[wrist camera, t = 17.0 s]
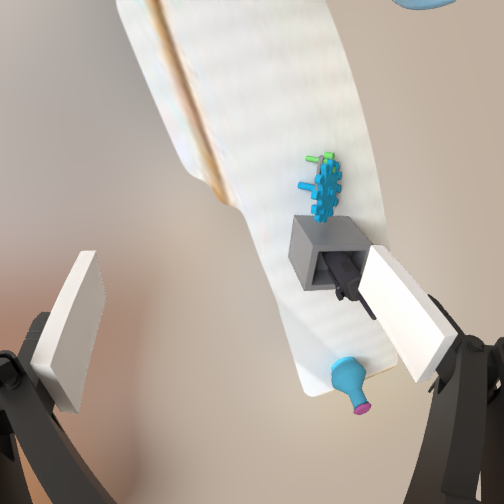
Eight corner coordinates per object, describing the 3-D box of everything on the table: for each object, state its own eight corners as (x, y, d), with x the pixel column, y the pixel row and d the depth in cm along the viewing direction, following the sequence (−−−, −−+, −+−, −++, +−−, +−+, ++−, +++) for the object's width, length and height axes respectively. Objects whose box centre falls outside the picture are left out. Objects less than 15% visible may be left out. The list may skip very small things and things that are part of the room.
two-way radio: (345, 260, 52) (386, 321, 39) (322, 273, 53) (357, 337, 40) (335, 235, 49) (379, 295, 36) (310, 249, 50) (347, 312, 37)
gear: (339, 218, 53) (315, 231, 45) (308, 210, 56) (280, 220, 48) (349, 153, 48) (326, 153, 41) (316, 148, 52) (287, 147, 44)
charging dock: (294, 215, 53) (312, 245, 45) (347, 216, 55) (373, 244, 46) (287, 258, 57) (303, 293, 49) (338, 257, 59) (360, 289, 50)
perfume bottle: (363, 362, 79) (385, 406, 66) (335, 380, 81) (353, 424, 68) (352, 348, 75) (375, 395, 62) (321, 367, 76) (339, 415, 64)
